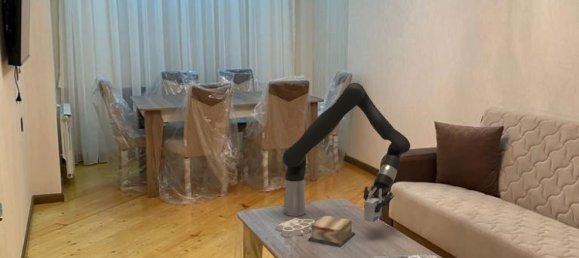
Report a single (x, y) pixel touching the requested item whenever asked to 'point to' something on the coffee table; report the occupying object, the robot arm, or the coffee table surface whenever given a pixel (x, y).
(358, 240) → the coffee table surface
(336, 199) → the coffee table surface
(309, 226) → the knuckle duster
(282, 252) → the coffee table surface
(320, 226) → the stand
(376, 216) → the medicine box
